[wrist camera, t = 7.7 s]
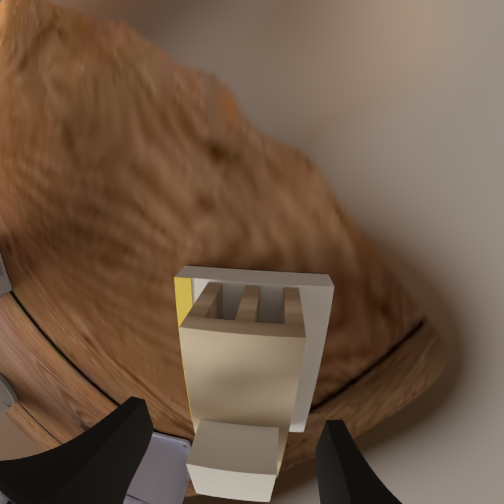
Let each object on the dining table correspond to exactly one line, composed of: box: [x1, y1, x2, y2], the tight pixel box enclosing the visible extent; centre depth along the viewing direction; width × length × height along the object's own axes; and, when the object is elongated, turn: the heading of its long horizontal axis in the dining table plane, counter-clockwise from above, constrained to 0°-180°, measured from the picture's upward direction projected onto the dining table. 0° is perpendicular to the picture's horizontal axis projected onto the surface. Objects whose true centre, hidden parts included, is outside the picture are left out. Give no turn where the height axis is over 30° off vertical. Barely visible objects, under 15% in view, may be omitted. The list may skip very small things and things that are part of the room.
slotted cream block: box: [179, 282, 306, 477], centre depth 14 cm, size 12×5×5 cm, turn 178°
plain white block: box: [186, 419, 279, 502], centre depth 11 cm, size 4×4×3 cm
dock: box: [174, 266, 334, 432], centre depth 18 cm, size 13×9×2 cm
